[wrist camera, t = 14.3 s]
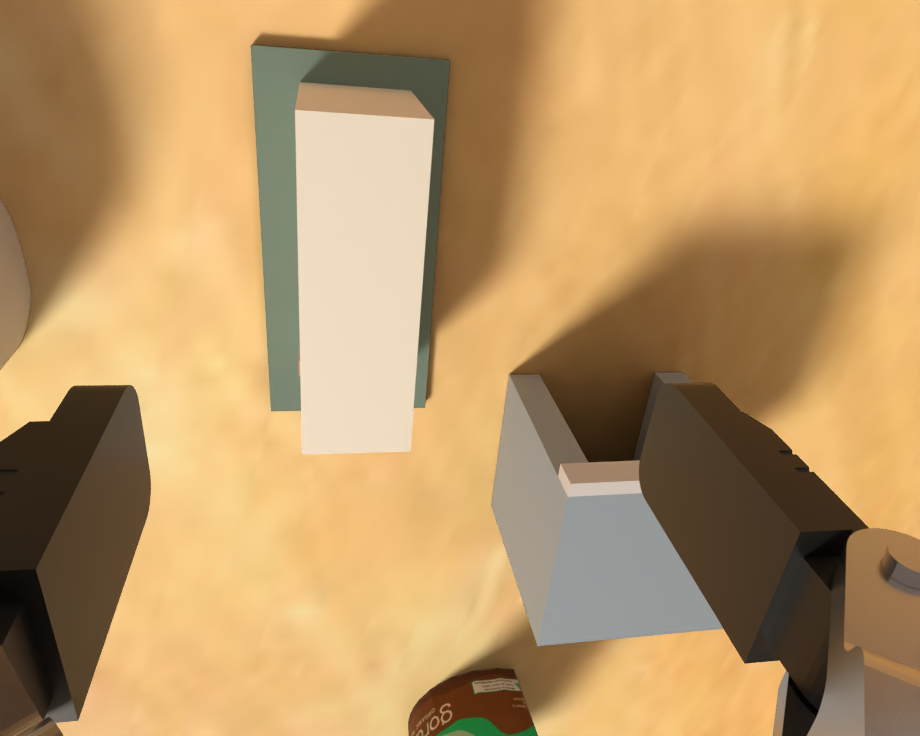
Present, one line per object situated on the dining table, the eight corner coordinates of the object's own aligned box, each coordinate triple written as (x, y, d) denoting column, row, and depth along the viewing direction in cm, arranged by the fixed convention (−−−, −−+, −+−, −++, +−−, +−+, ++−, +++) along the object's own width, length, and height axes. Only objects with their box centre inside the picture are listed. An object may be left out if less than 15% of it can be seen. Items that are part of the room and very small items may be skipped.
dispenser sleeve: (685, 361, 34) (792, 473, 27) (648, 497, 38) (731, 627, 31) (510, 363, 32) (570, 483, 25) (491, 505, 37) (537, 646, 29)
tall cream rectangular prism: (412, 90, 25) (436, 119, 20) (396, 373, 31) (411, 451, 26) (298, 82, 25) (293, 109, 20) (303, 373, 30) (300, 454, 25)
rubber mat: (448, 59, 26) (449, 60, 25) (423, 403, 33) (425, 407, 32) (251, 44, 24) (250, 45, 24) (271, 406, 31) (271, 411, 31)
